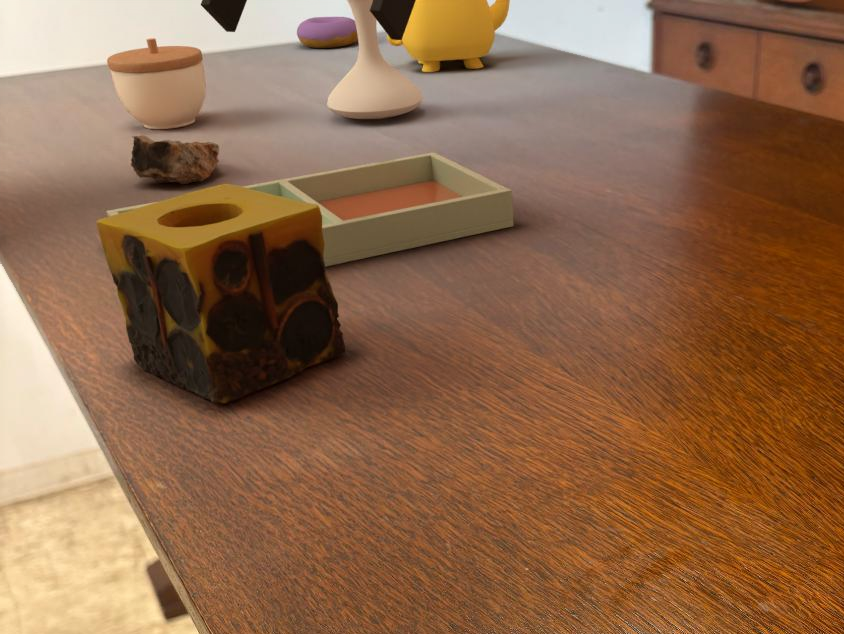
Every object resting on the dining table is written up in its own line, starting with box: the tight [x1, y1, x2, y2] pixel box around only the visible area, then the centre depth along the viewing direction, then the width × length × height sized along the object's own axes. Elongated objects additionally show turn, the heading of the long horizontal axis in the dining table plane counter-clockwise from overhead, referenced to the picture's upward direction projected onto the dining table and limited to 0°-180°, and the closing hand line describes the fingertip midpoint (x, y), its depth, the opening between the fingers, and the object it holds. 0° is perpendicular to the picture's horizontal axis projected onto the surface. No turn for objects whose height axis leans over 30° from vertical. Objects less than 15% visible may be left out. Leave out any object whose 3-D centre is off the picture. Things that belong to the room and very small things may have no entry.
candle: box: [96, 183, 346, 404], centre depth 69 cm, size 10×10×10 cm
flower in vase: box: [326, 0, 424, 120], centre depth 123 cm, size 13×11×25 cm
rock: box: [130, 135, 220, 185], centre depth 110 cm, size 9×6×10 cm
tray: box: [106, 151, 514, 268], centre depth 92 cm, size 16×30×3 cm, turn 119°
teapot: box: [386, 0, 510, 73], centre depth 152 cm, size 14×20×13 cm
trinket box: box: [106, 37, 207, 130], centre depth 129 cm, size 11×11×9 cm
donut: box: [296, 16, 358, 49], centre depth 172 cm, size 10×9×5 cm
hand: (298, 22), depth 69 cm, fingers open, 13 cm apart
